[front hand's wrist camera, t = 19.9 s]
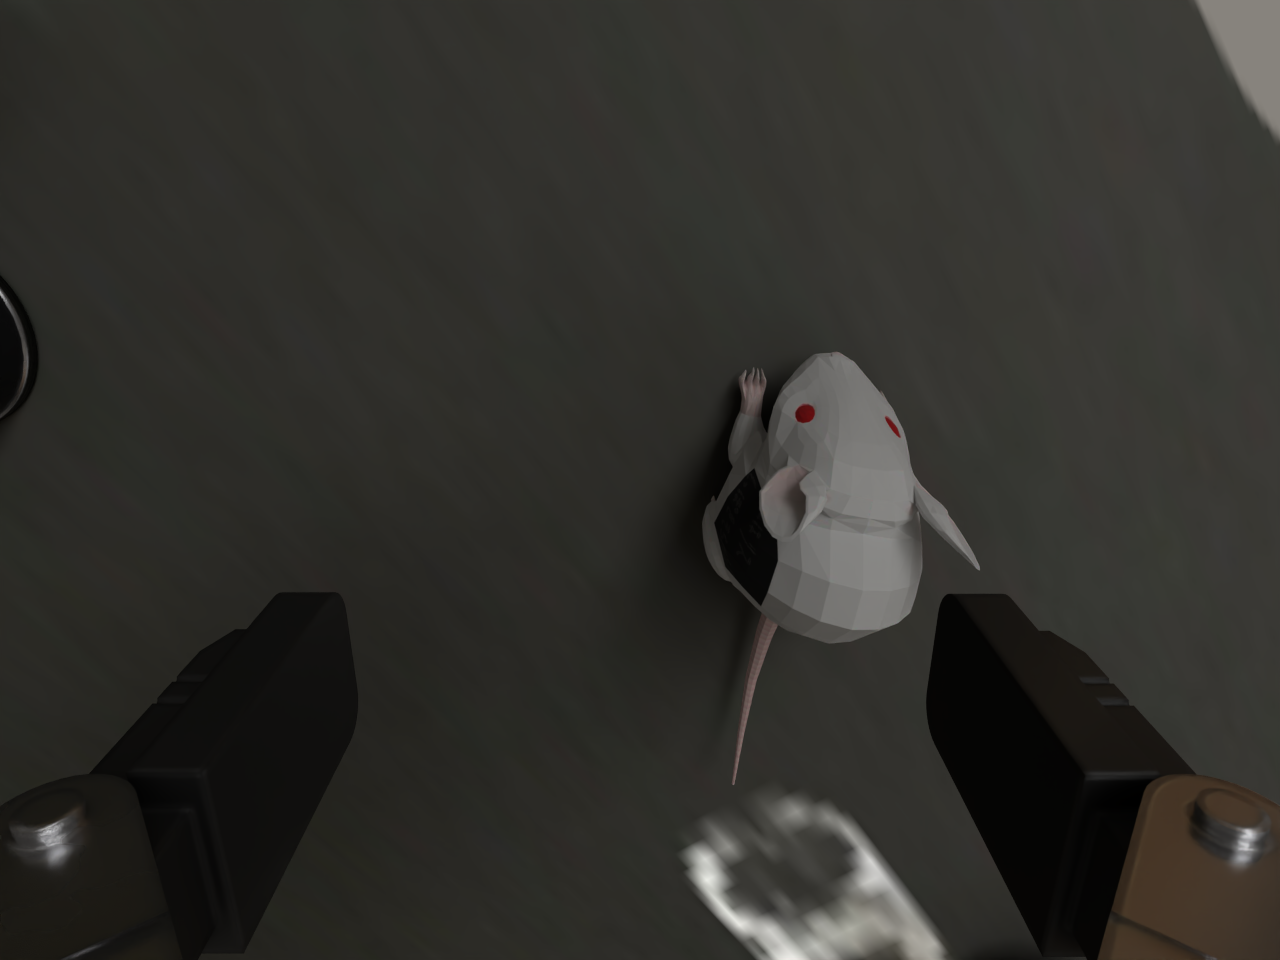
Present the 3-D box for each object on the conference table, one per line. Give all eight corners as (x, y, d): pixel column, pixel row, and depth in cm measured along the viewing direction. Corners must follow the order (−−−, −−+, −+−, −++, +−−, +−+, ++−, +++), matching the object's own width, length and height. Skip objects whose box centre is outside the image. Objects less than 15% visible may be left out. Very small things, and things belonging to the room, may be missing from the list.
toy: (912, 351, 40) (1059, 452, 26) (802, 749, 48) (868, 989, 34) (729, 322, 39) (778, 409, 25) (649, 729, 48) (654, 964, 34)
